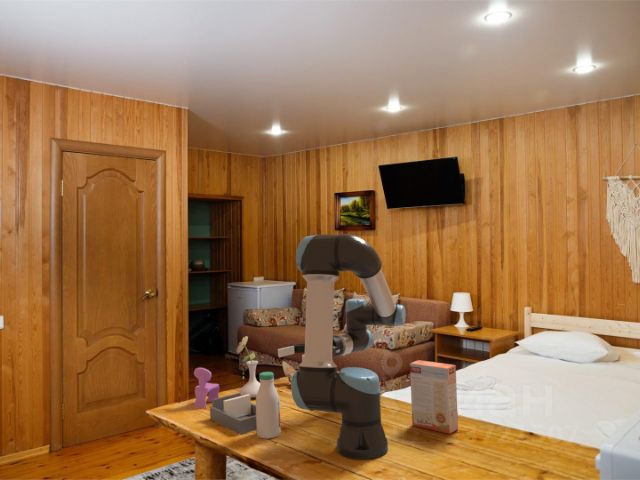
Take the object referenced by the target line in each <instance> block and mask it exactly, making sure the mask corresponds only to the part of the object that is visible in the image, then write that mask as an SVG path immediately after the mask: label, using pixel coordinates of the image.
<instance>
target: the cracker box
mask: <svg viewBox="0 0 640 480" xmlns="http://www.w3.org/2000/svg"><path fill="white" fill-rule="evenodd" d="M456 366H457V365H455V364H450V363H443V362H436V361H435V362H434V361H427V360H420V359H418V360H415V361H412V362H410V363H409V367H410V369H409V373H410V374H409V375H410V394H411V396H410V397H411V398H410V399H411V400H410V401H411V422H412V423H411V425H412V426H414V427H418V428H423V429H427V430H432V431H436V432H439V433H444V434H446V435H447V434H448V435H451V434H452V433H454V432H456V431H458V430H459V417H458V415H459V414H458V413H459V412H458V395H457V394H458V393H457V391H458V389H457V387H458V386H457V367H456Z"/></svg>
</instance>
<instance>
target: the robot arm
mask: <svg viewBox="0 0 640 480" xmlns="http://www.w3.org/2000/svg"><path fill="white" fill-rule="evenodd" d="M295 262H296V267H297V269H298V271H300V272H302V278H303V279H304V280H305V281H306V304H305V305H306V306H305V309H306V310H305V334H304V336H305V337H304V342H303V343H294V344H290V345H289V346H287V347H281V348H278V349H277V358H282V357H288V356H295V354H297V353H298V354H300V353H302V355H301V363H299V365H298V367H299V368H298V369H297V370H295V372H294V374H293V378H292V381H291V383H290V385H291V386H290V389H291V390H290V391H291V396H292V400H293V402H294V403H295V405H296V406H297V407H298V408H300V410H306V411H307V410H308V411H311V412H328V413H338V414H341V427H340V429H339V433H338V438H337V441H336V451H337V453H338V454H339V455H341V456H343V457H346V458H348V459H353V460H371V459H376V458H380V457H382V456H384V455H386V454H387V453H388V451H389V442H388V438H387V437H386V433H385V430H384V428H383V424H382V412H381V411H382V407H381V404H382V403H381V387H380V385H381V384H380V378H379V376H378V374H377V373H376V372H374V371H373V370H371V369H368V368H363V367H355V366H352V367H351V366H350V367H349V366H347V367H343V368H341V369H340V371H339V372H338V371H337V370H338V366H337V364H336V363H335V362H334V361H333V358H337V357H340V356H343V357H345V356H346V355H349V354H352V353H357V352H363V351H366V350H368V349H370V348H371V347H372V346H373V345H374V344H373V343H374V337H373V335H372V332H371V331H370V330H369V329H368V328H367V327H368V326H391V327H395V326H399V327H400V326H404V325H405V323H406V314H407V313H406V308H405V305H402V304H396V302H395V300H394V297H393V294H392V292H391V289H390V286H389V285H388V282H387V280H386V277H385V275H384V272H383V271H382V266H383V264H382V263H383V262H382V259H381V257H380V255H379V253H378V252H377V251H376V249H375V248H374V247H373V246H372V245H371V244H370V243H369V242H367V241H366V240H365V239H363V238H361V237H360V236H357V235H354V234H351V233H342V234H341V233H339V234H314V235H307V236H305V237H303V238H302V239H301V241H300V242H299V244H298V246H297V249H296V255H295ZM340 272H352V273H353V274H354V276H356V278H358V279H359V280H360V281H361V284H362V286H363V288H364V289H365V292H366V293H367V296H368V298H369V300H370V302H371V303H370V304H367V302H366V300H365V298H350V299H347V300H346V301H345V311H344V312H345V326H346V332H344V333H339V334H335V335H333V334H334V308H335V307H334V306H335V305H334V302H335V299H334V298H335V296H334V295H335V283H336V282H337V281H338V279H340Z"/></svg>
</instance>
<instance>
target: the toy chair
mask: <svg viewBox="0 0 640 480" xmlns="http://www.w3.org/2000/svg"><path fill="white" fill-rule="evenodd" d="M193 375H194V377H195V378H196V379H198V385H197V386H195V387H194V394H195V401H194V404H193V406H192V408H195V407H198V408H197V409H202V408H204V409H203V410H207V403H206V402H208V403H209V402H210V403H212V399H216V398H220V397H219V392H220V384H219V383H212V382H209V381H211V378H212V371H210V370H209V369H207V368H204V367H197V368H195V369H194V371H193ZM207 395H208V396H207Z"/></svg>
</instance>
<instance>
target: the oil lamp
mask: <svg viewBox="0 0 640 480" xmlns="http://www.w3.org/2000/svg"><path fill="white" fill-rule="evenodd" d="M281 364H282V370H283V373H284V375H285V376H286V377H287V380H288V382H289V383H290V384H291V381H292V378H293V374H294V372H295V371H296V369H295V368H294V367H293V366H292V365H290V364H289V363H287V362H285V361H284V360H282V363H281Z"/></svg>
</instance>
